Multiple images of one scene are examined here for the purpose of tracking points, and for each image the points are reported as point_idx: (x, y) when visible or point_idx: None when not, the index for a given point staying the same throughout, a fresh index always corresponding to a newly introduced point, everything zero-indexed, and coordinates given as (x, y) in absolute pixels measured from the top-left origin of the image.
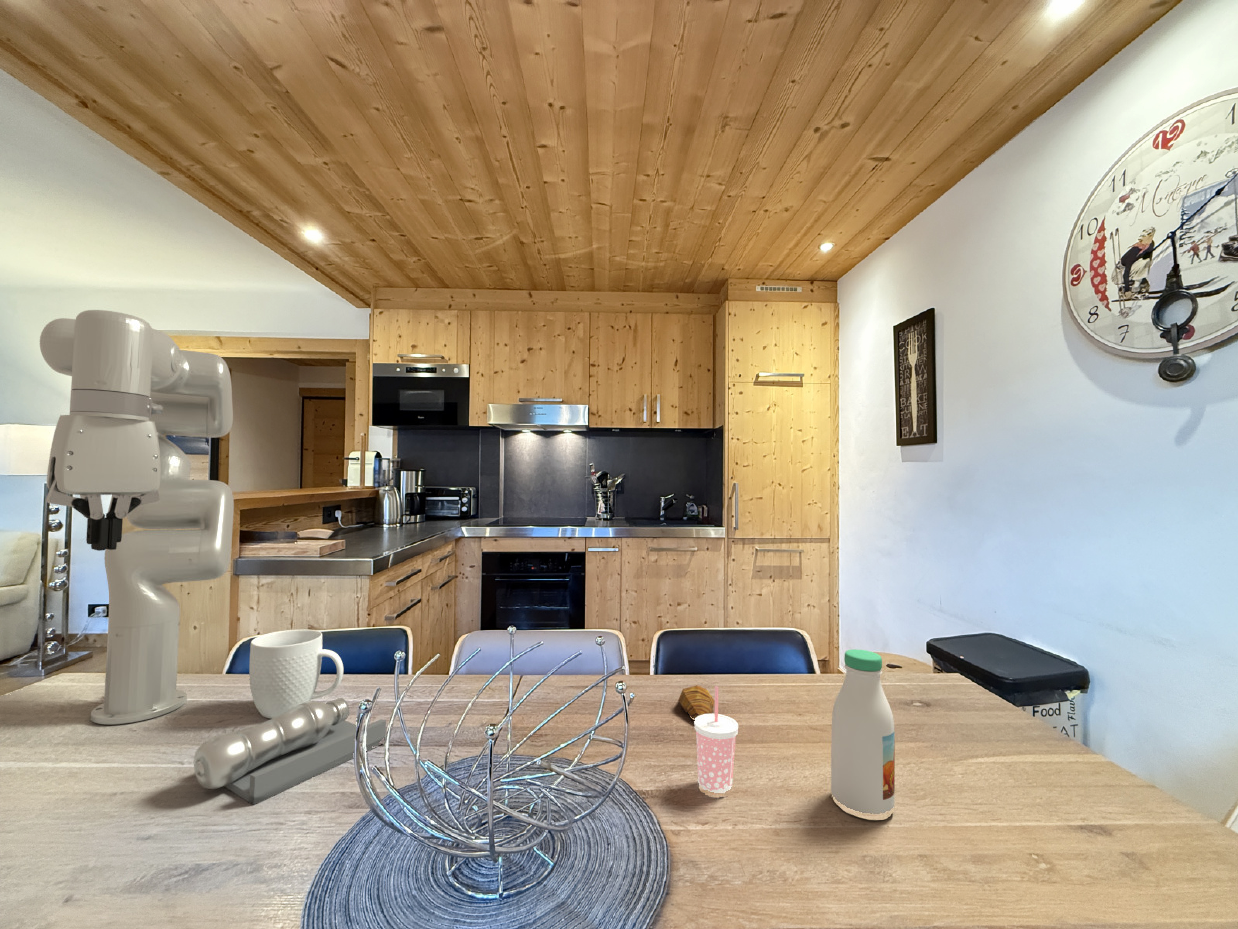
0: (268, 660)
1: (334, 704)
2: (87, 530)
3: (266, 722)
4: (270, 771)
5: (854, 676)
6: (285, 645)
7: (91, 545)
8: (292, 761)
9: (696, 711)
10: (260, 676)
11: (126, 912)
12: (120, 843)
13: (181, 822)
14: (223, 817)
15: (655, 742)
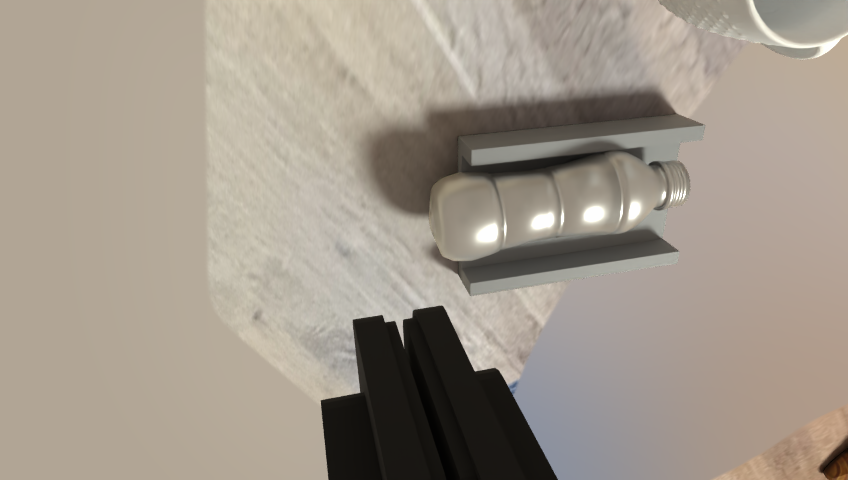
0: (719, 2)
1: (666, 201)
2: (329, 478)
3: (551, 216)
4: (491, 292)
5: None
6: None
7: (355, 331)
8: (523, 287)
9: (842, 475)
10: None
11: (297, 374)
12: (318, 241)
13: (384, 247)
14: (422, 274)
15: (772, 462)
